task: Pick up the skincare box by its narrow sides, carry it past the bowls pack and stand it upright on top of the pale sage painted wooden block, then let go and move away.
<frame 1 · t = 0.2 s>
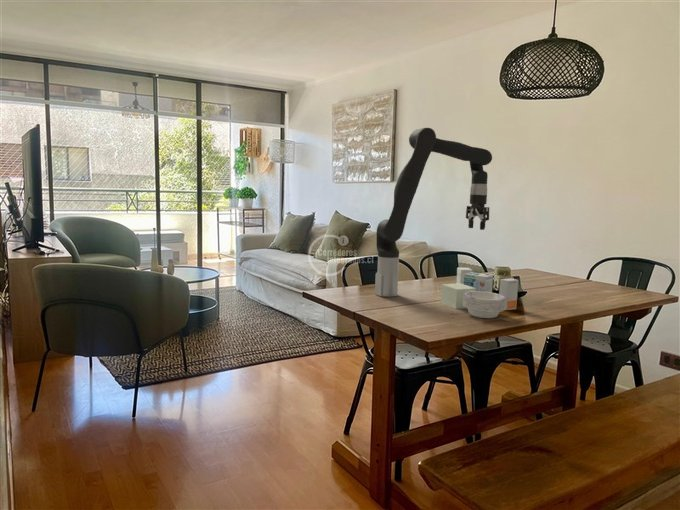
hand: (476, 228, 229), 29 cm above the table, fingers open, 8 cm apart
small box: (463, 291, 232), on the table
skincare box: (507, 309, 197), on the table
sage block: (457, 305, 202), on the table
paper bowls: (483, 315, 186), on the table
light bulb box: (477, 298, 216), on the table
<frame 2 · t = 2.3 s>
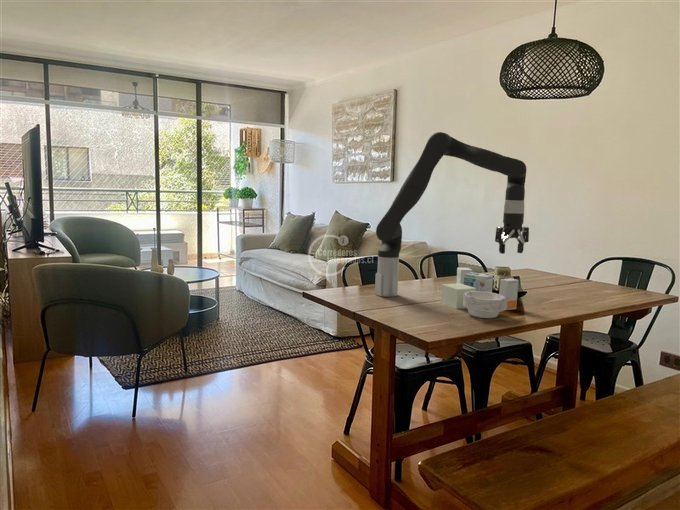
hand: (511, 253, 194), 22 cm above the table, fingers open, 8 cm apart
nothing on the table moved.
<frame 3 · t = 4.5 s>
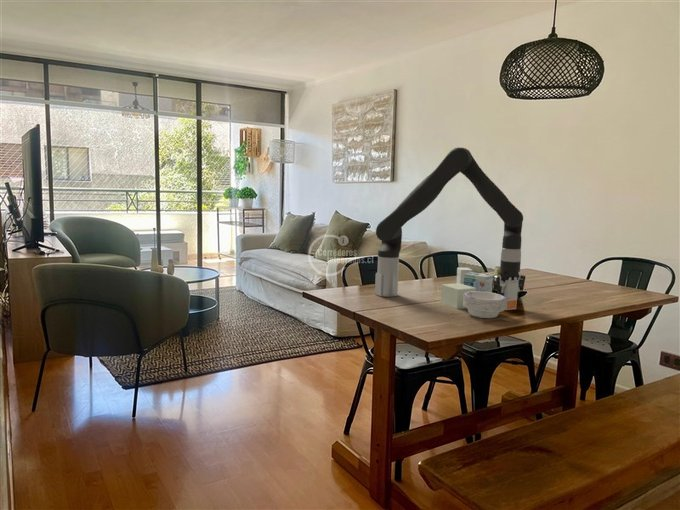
hand: (507, 301, 197), 3 cm above the table, fingers closed on skincare box, 6 cm apart
skincare box: (507, 309, 197), on the table, touching gripper
everything else where it was.
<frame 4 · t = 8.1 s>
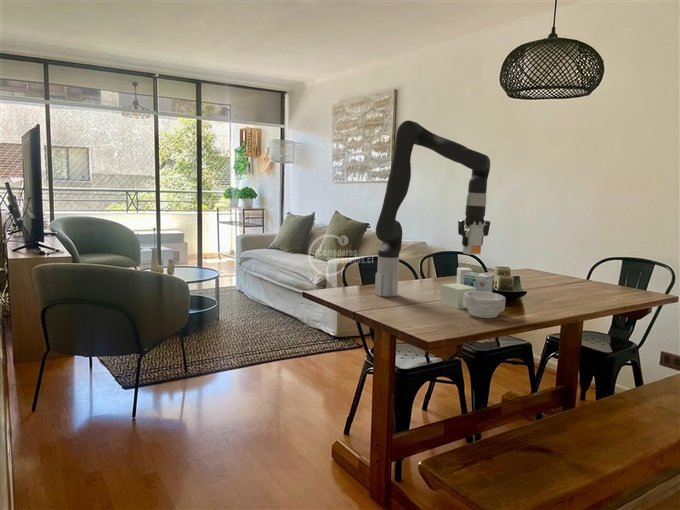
hand: (472, 246, 198), 25 cm above the table, fingers closed on skincare box, 6 cm apart
skincare box: (471, 254, 198), point 21 cm above the table, touching gripper
everything else where it was.
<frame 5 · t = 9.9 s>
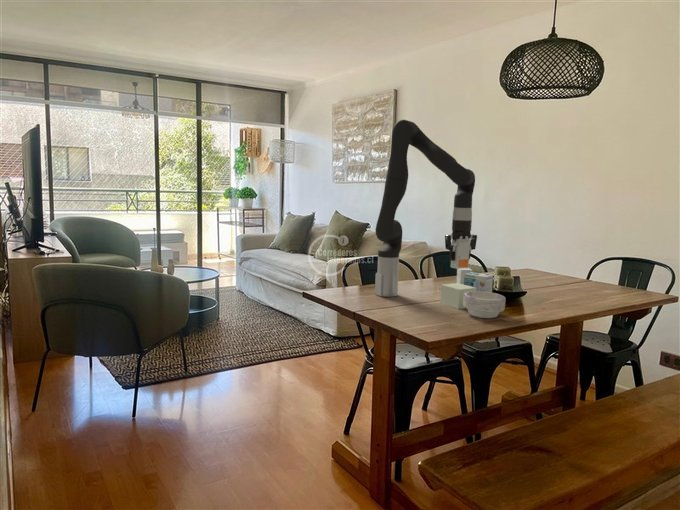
hand: (459, 260, 199), 19 cm above the table, fingers closed on skincare box, 6 cm apart
skincare box: (459, 268, 200), point 15 cm above the table, touching gripper
everything else where it was.
when the fingers open (13 cm above the table, at t = 11.6 s): skincare box drops 2 cm, resting on sage block.
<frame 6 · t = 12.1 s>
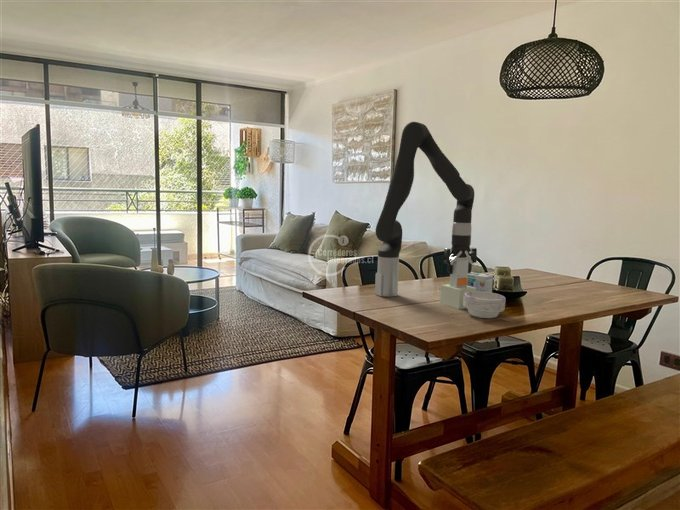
hand: (459, 273, 200), 13 cm above the table, fingers open, 8 cm apart
skincare box: (458, 286, 201), point 8 cm above the table, touching sage block
sage block: (457, 305, 202), on the table, touching skincare box
everything else where it was.
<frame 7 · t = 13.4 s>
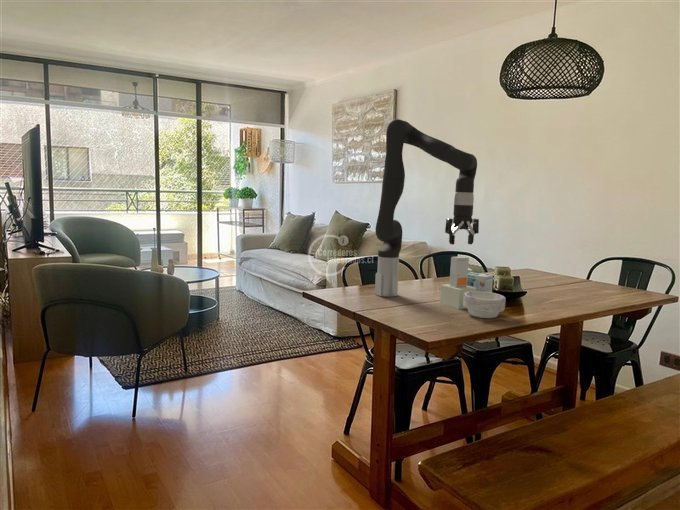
hand: (461, 244, 198), 25 cm above the table, fingers open, 8 cm apart
skincare box: (458, 286, 201), point 8 cm above the table
sage block: (457, 305, 202), on the table
everything else where it was.
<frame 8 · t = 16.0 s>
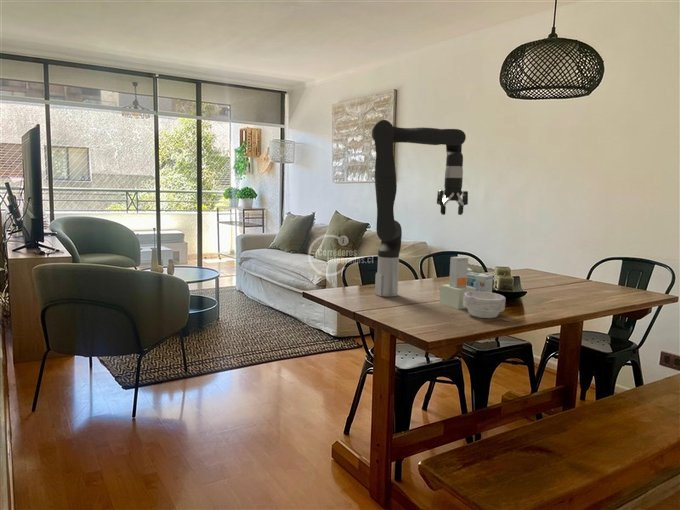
hand: (451, 214, 215), 36 cm above the table, fingers open, 8 cm apart
skincare box: (458, 286, 201), point 8 cm above the table, touching sage block
sage block: (456, 305, 201), on the table, touching skincare box
everything else where it was.
at the end: skincare box 0.4 cm off-centre on the sage block, point 7.9 cm above the sage block's base; skincare box tilted 2°; the gripper is holding nothing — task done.
